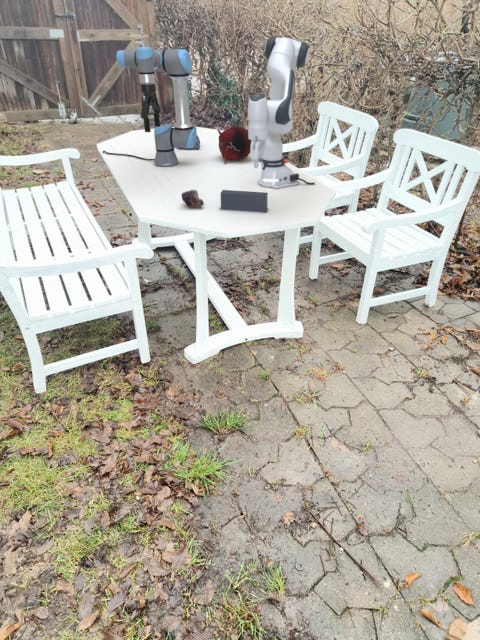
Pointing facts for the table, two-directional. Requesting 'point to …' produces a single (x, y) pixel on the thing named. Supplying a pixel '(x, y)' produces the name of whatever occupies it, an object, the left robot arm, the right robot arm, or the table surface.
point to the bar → (244, 200)
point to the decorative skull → (234, 143)
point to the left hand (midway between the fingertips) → (152, 129)
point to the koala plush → (197, 144)
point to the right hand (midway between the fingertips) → (258, 165)
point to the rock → (192, 198)
